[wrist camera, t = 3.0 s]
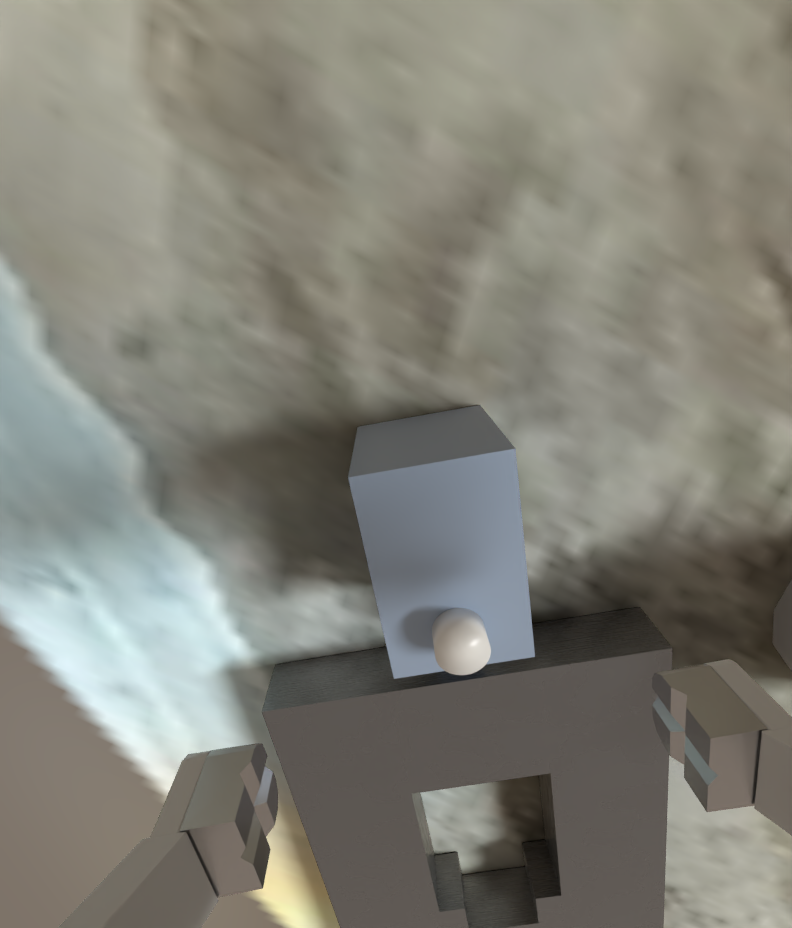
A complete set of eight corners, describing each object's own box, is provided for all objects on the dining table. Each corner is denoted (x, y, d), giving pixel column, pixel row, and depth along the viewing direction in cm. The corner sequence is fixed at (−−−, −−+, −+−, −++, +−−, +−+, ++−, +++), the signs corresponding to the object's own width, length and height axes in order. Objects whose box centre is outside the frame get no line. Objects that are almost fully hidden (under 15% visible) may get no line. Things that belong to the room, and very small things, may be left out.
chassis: (639, 606, 21) (672, 648, 18) (638, 892, 27) (662, 949, 25) (275, 664, 21) (261, 712, 19) (364, 930, 28) (362, 988, 26)
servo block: (479, 405, 17) (525, 461, 12) (502, 599, 20) (548, 718, 15) (357, 426, 18) (345, 492, 12) (397, 616, 20) (403, 740, 15)
